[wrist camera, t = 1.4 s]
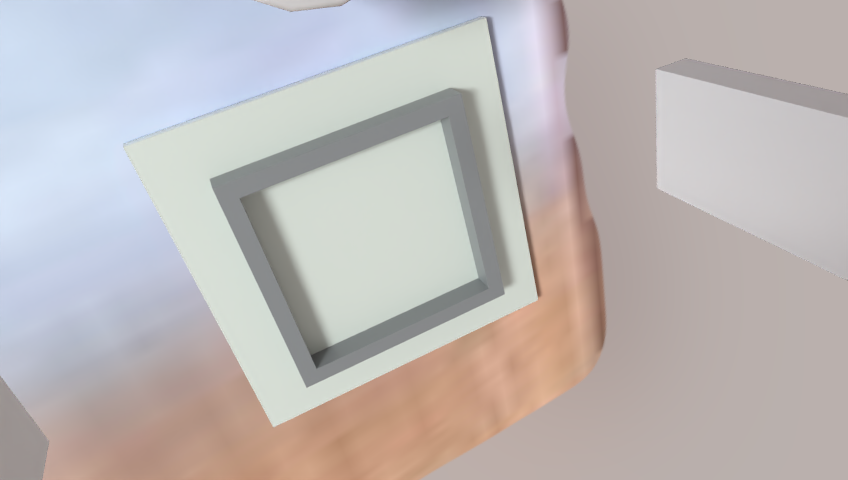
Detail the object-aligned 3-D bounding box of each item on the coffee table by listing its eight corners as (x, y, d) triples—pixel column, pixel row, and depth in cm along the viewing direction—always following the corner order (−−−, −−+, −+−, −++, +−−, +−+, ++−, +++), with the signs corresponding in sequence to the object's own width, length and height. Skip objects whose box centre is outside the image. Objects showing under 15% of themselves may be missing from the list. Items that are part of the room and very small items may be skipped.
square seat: (123, 143, 30) (122, 156, 28) (481, 16, 34) (499, 20, 33) (271, 421, 40) (277, 443, 38) (533, 295, 45) (549, 310, 43)
